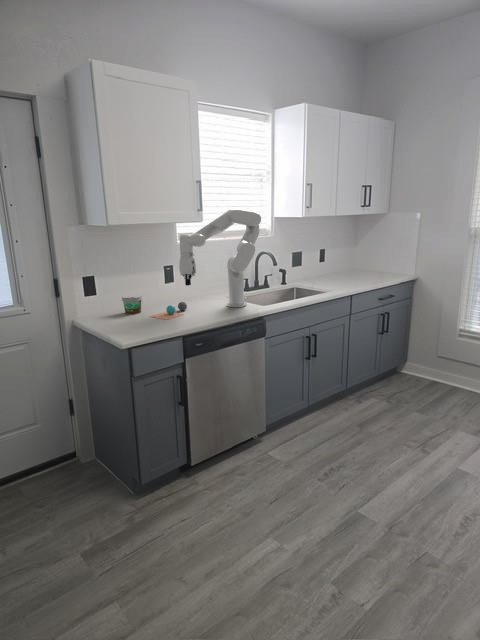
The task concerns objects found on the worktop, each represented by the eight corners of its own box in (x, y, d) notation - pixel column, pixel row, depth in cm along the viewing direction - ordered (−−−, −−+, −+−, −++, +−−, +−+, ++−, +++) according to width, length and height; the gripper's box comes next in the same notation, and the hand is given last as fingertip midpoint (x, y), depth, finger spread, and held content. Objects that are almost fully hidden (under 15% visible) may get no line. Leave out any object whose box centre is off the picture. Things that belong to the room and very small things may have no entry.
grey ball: (176, 301, 265) (175, 309, 265) (182, 301, 261) (181, 310, 261) (183, 302, 269) (182, 310, 269) (189, 302, 266) (188, 311, 266)
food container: (120, 315, 258) (119, 298, 255) (123, 312, 264) (121, 296, 261) (141, 314, 258) (140, 298, 256) (143, 312, 264) (142, 296, 261)
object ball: (169, 303, 258) (163, 307, 255) (175, 304, 255) (169, 308, 252) (171, 310, 261) (165, 315, 258) (178, 311, 258) (172, 316, 254)
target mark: (166, 311, 264) (166, 311, 264) (183, 314, 256) (183, 314, 256) (149, 316, 253) (149, 316, 252) (167, 319, 245) (167, 319, 245)
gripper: (200, 255, 260) (201, 285, 265) (181, 254, 269) (183, 283, 273) (191, 256, 254) (193, 287, 259) (173, 255, 263) (175, 285, 267)
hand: (188, 285), depth 266 cm, fingers closed
